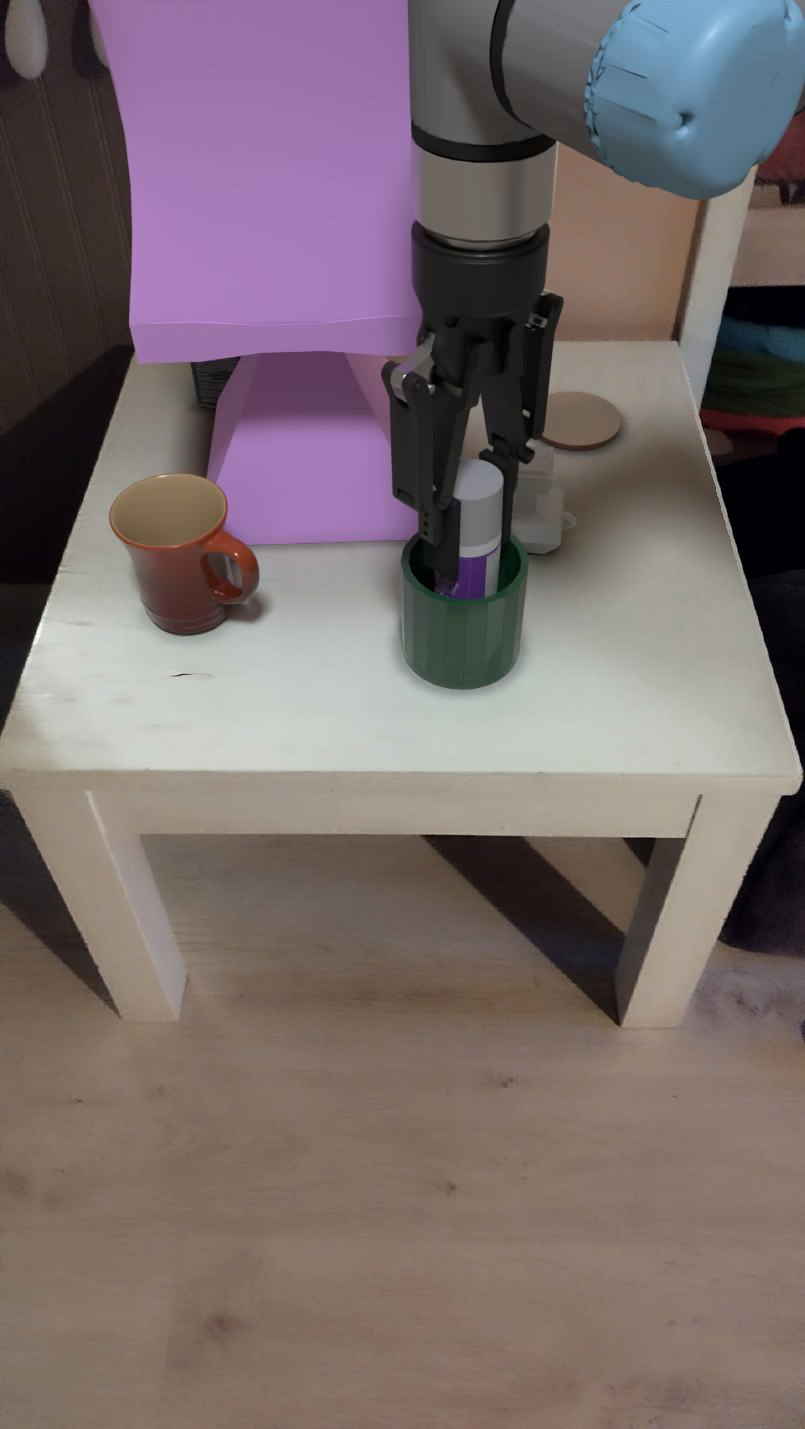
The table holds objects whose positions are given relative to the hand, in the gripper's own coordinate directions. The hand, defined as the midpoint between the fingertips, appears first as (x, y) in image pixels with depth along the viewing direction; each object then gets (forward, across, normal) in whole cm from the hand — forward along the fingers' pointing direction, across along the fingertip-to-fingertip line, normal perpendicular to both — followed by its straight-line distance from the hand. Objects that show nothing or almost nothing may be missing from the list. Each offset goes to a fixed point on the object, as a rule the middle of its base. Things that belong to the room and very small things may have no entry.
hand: (467, 550), depth 72 cm
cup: (+10, 0, 0) cm, 10 cm away
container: (+9, 0, 0) cm, 9 cm away
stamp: (+10, -13, -5) cm, 17 cm away
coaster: (+10, -30, -13) cm, 34 cm away
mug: (+10, +12, -17) cm, 23 cm away
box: (+10, -10, -42) cm, 44 cm away
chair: (+10, -7, -25) cm, 28 cm away
